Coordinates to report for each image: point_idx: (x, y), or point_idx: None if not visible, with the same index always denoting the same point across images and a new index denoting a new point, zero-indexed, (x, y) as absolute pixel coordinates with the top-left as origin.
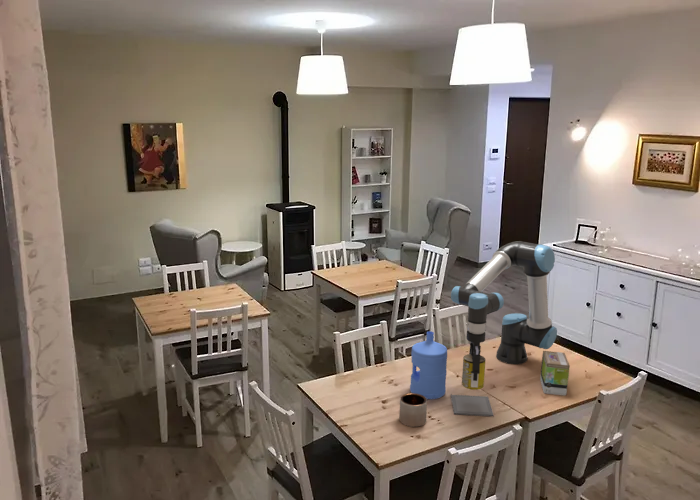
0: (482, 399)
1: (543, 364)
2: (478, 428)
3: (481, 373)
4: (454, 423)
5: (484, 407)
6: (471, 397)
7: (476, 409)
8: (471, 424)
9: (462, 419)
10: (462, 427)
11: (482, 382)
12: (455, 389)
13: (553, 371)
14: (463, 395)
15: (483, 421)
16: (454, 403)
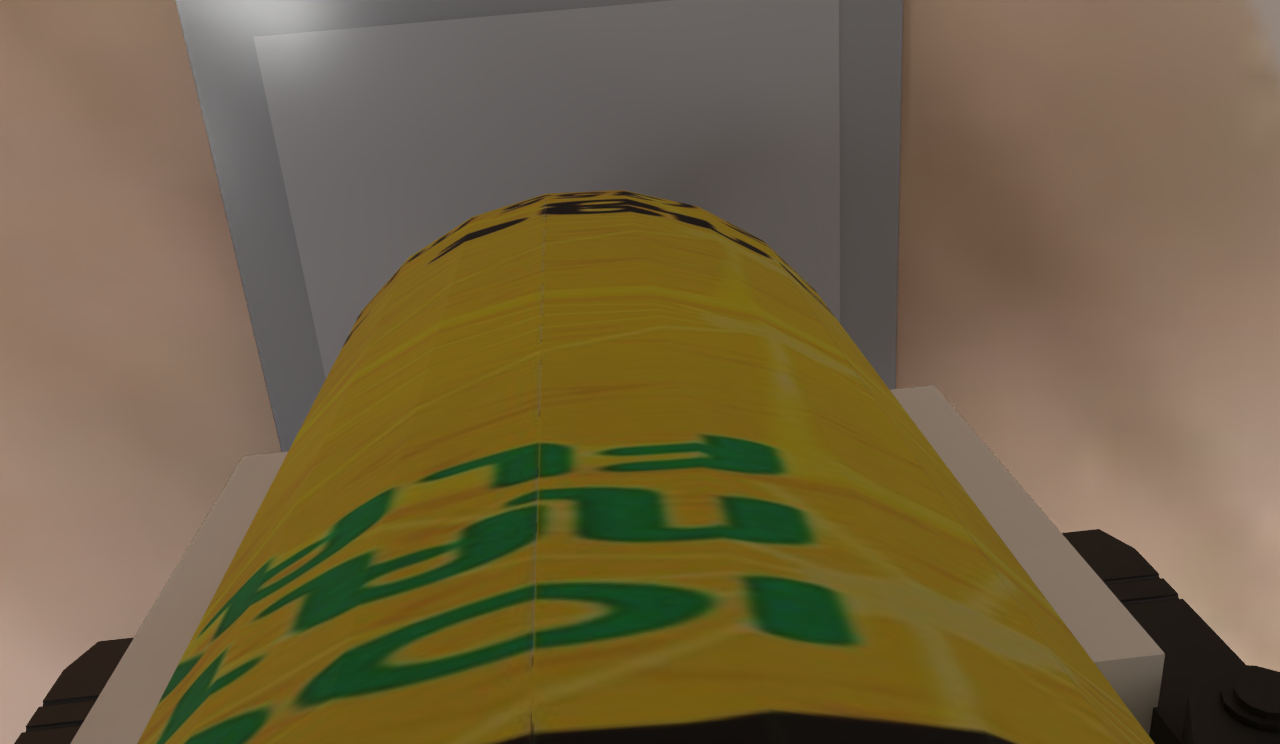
0: (346, 91)
1: None
2: (1268, 182)
3: (960, 491)
4: (1126, 500)
5: (657, 67)
6: (325, 288)
7: (757, 211)
8: (1153, 281)
9: (1014, 404)
10: (1231, 400)
11: (791, 287)
12: (44, 525)
13: None
14: (285, 416)
15: (1062, 96)
16: None
